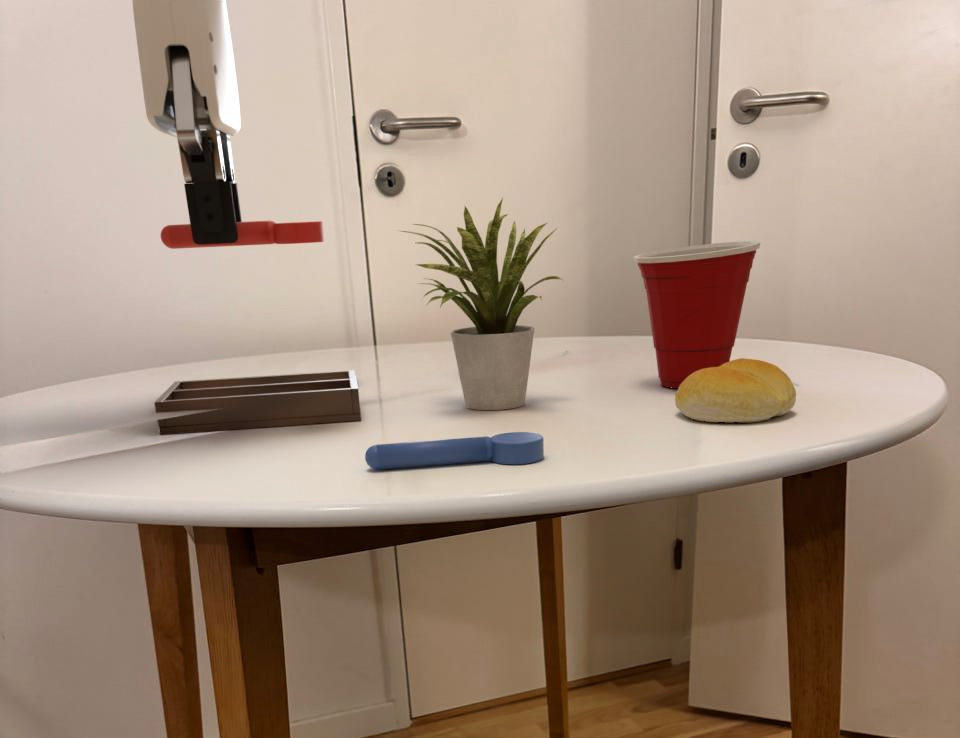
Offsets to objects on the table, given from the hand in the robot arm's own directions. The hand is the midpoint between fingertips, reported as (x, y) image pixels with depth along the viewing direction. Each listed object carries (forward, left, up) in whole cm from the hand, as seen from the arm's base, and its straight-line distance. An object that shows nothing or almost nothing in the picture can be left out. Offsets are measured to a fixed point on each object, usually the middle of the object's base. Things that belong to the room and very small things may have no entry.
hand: (219, 241), depth 69 cm
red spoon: (+2, -1, 0) cm, 2 cm away
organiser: (+5, +5, -14) cm, 16 cm away
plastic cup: (+37, -15, -14) cm, 43 cm away
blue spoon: (+4, -22, -14) cm, 26 cm away
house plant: (+20, -6, -14) cm, 26 cm away
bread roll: (+28, -26, -14) cm, 41 cm away
